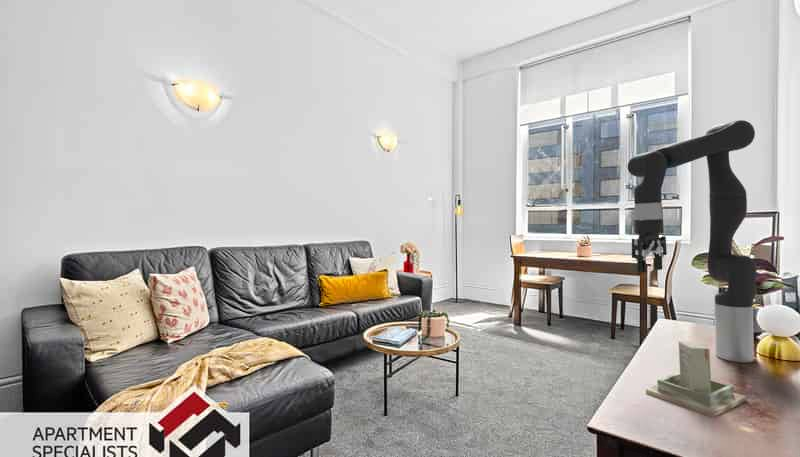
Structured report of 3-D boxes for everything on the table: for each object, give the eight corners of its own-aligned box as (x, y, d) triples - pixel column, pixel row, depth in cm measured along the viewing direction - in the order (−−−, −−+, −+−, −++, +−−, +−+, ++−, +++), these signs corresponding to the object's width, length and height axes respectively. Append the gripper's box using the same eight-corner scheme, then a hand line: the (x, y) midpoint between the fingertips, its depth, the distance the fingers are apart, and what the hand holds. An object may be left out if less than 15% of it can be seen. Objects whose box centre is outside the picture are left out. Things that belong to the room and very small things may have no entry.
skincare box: (712, 398, 96) (711, 349, 96) (692, 397, 97) (691, 348, 97) (697, 387, 103) (696, 341, 103) (679, 386, 104) (678, 340, 103)
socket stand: (680, 379, 110) (679, 367, 110) (746, 400, 97) (746, 386, 97) (646, 392, 103) (645, 379, 103) (712, 417, 89) (712, 402, 89)
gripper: (649, 217, 126) (650, 267, 126) (622, 219, 119) (623, 272, 120) (674, 217, 120) (676, 269, 120) (647, 218, 113) (649, 274, 113)
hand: (650, 271), depth 120 cm, fingers open, 8 cm apart
